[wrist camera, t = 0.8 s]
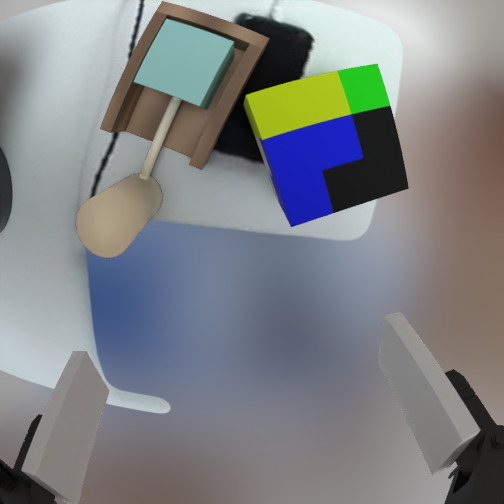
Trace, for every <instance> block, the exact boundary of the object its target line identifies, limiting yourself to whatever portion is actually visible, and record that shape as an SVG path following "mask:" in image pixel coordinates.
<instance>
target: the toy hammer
mask: <svg viewBox="0 0 504 504" xmlns="http://www.w3.org/2000/svg"><path fill="white" fill-rule="evenodd" d="M234 58H235V54H234V41H231V40H228V39H226V38H223V37H221V36H218V35H215V34H213V33H210V32H207V31H204V30H201V29H198V28H195V27H192V26H189V25H186V24H183V23H179V22H176V21H173V20H169V19H166V20H165V22H164V24H163V26H162V27H161V29H160V31H159V33H158V34H157V36H156V38H155V40H154V42H153V43H152V45H151V47H150V49H149V51H148V53H147V55H146V57H145V59H144V61H143V63H142V65H141V67H140V69H139V71H138V73H137V75H136V77H135V79H134V81H133V82H135V83H138V84H141V85H144V86H146V87H149V88H152V89H154V90H157V91H160V92H163V93H165V94H168V95H171V96H173V97H172V99H171V101H170V103H169V105H168V107H167V109H166V112H165V114H164V116H163V118H162V121H161V123H160V125H159V127H158V130H157V132H156V134H155V137H154V139H153V142H152V144H151V146H150V149H149V151H148V154H147V156H146V159H145V162H144V164H143V167H142V169H141V172H140V173H138V174H133V175H131V176H129V177H127V178H125V179H123V180H121V181H120V182H118V183H116V184H114V185H113V186H111V187H109V188H107V189H106V190H104V191H102V192H100V193H99V194H97V195H95V196H94V197H92V198H90V199H89V200H87V201H86V202H85V203H83V205H82V206H81V207H80V209H79V211H78V214H77V218H76V228H77V233H78V236H79V238H80V240H81V242H82V243H83V245H84V246H85V247H86V248H87V249H88V250H89V251H91V252H92V253H93V254H95V255H98V256H100V257H106V258H110V257H115V256H118V255H120V254H121V253H123V252H124V251H125V250H126V249H127V247H128V246H129V245H130V244H131V242H132V241H133V240H134V239H135V237H136V236H137V235H138V234H139V233H140V231H141V230H142V229H143V228H144V227H145V225H146V224H147V223H148V222H149V221H150V219H151V218H152V217H153V216H154V215H155V213H156V212H157V211H158V210H159V208H160V206H161V203H162V191H161V188H160V186H159V184H158V183H157V181H156V180H155V179H154V178H152V177H151V176H150V173H151V171H152V168H153V166H154V163H155V161H156V158H157V156H158V153H159V151H160V148H161V146H162V144H163V141H164V139H165V137H166V134H167V132H168V130H169V128H170V125H171V123H172V121H173V119H174V116H175V114H176V112H177V110H178V108H179V106H180V104H181V101H182V100H184V101H186V102H189V103H191V104H194V105H196V106H199V107H201V108H204V109H206V110H207V109H208V107H209V105H210V103H211V101H212V99H213V97H214V95H215V93H216V91H217V89H218V87H219V85H220V84H221V82H222V80H223V78H224V76H225V74H226V72H227V70H228V69H229V67H230V65H231V63H232V61H233V59H234Z"/></svg>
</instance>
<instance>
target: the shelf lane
mask: <svg viewBox="0 0 504 504" xmlns="http://www.w3.org/2000/svg"><path fill="white" fill-rule="evenodd" d="M166 19H169V20H173V21H176V22H179V23H183V24H186V25H189V26H192V27H195V28H198V29H201V30H204V31H207V32H210V33H213V34H215V35H218V36H221V37H223V38H226V39H228V40H231V41H234V54H235V58H234V59H233V61H232V63H231V65H230V67H229V69H228V70H227V72H226V74H225V76H224V78H223V80H222V82H221V84H220V85H219V87H218V89H217V91H216V93H215V95H214V97H213V99H212V101H211V103H210V105H209V107H208V109H207V110H206V109H204V108H201V107H199V106H196V105H194V104H191V103H189V102H186V101H184V100H182V101H181V104H180V106H179V108H178V110H177V112H176V114H175V116H174V119H173V121H172V123H171V125H170V128H169V130H168V132H167V134H166V137H165V139H164V141H163V144H162V146H165V147H167V148H170V149H172V150H174V151H177V152H179V153H182V154H184V155H186V156H189V157H191V158H192V159H191V161H190V163H189V165H191V166H194V167H196V168H198V169H201V170H202V169H203V167H204V166H205V165H206V164H207V162H208V159H209V157H210V155H211V153H212V151H213V149H214V147H215V145H216V142H217V140H218V138H219V136H220V134H221V132H222V130H223V128H224V126H225V124H226V122H227V120H228V118H229V116H230V114H231V112H232V110H233V108H234V106H235V104H236V102H237V100H238V98H239V96H240V94H241V93H242V91H243V89H244V87H245V85H246V83H247V81H248V79H249V78H250V76H251V74H252V72H253V70H254V68H255V67H256V65H257V63H258V61H259V59H260V58H261V56H262V54H263V52H264V50H265V48H266V45H267V43H268V40H269V38H267V37H265V36H263V35H261V34H258V33H256V32H254V31H251V30H249V29H246V28H244V27H241V26H239V25H236V24H234V23H231V22H228V21H226V20H223V19H220V18H217V17H214V16H211V15H208V14H205V13H202V12H199V11H196V10H193V9H189V8H186V7H183V6H179V5H175V4H172V3H168V2H164V1H162V2H161V4H160V6H159V7H158V9H157V10H156V12H155V14H154V15H153V17H152V19H151V21H150V22H149V24H148V26H147V27H146V29H145V31H144V33H143V35H142V36H141V38H140V40H139V42H138V44H137V46H136V48H135V50H134V52H133V54H132V56H131V58H130V60H129V62H128V64H127V66H126V68H125V70H124V72H123V74H122V76H121V79H120V81H119V83H118V85H117V87H116V90H115V92H114V94H113V97H112V99H111V102H110V104H109V106H108V109H107V112H106V114H105V117H104V119H103V122H102V125H101V127H100V129H102V130H105V131H107V132H110V133H113V132H121V131H127V132H130V133H132V134H135V135H137V136H140V137H142V138H145V139H147V140H150V141H152V142H153V139H154V137H155V134H156V132H157V130H158V127H159V125H160V123H161V121H162V118H163V116H164V114H165V112H166V109H167V107H168V105H169V103H170V101H171V99H172V97H173V96H171V95H168V94H165V93H163V92H160V91H157V90H154V89H152V88H149V87H146V86H144V85H141V84H138V83H135V82H133V81H134V79H135V77H136V75H137V73H138V71H139V69H140V67H141V65H142V63H143V61H144V59H145V57H146V55H147V53H148V51H149V49H150V47H151V45H152V43H153V42H154V40H155V38H156V36H157V34H158V33H159V31H160V29H161V27H162V26H163V24H164V22H165V20H166Z"/></svg>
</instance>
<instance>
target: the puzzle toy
mask: <svg viewBox="0 0 504 504" xmlns="http://www.w3.org/2000/svg"><path fill="white" fill-rule="evenodd" d="M243 105H244V108H245V111H246V113H247V116H248V119H249V122H250V124H251V127H252V130H253V133H254V135H255V138H256V141H257V144H258V147H259V150H260V152H261V155H262V158H263V161H264V164H265V167H266V170H267V172H268V175H269V178H270V181H271V184H272V187H273V190H274V193H275V196H276V198H277V200H278V202H279V204H280V206H281V208H282V210H283V212H284V213H285V215H286V217H287V219H288V221H289V223H290V225H291V227H293V226H296V225H299V224H302V223H305V222H308V221H311V220H314V219H317V218H320V217H323V216H326V215H329V214H332V213H335V212H338V211H341V210H344V209H347V208H350V207H353V206H356V205H359V204H363V203H366V202H369V201H372V200H375V199H378V198H381V197H384V196H387V195H390V194H393V193H396V192H399V191H402V190H405V189H408V182H407V176H406V171H405V166H404V161H403V156H402V151H401V146H400V142H399V138H398V134H397V129H396V125H395V121H394V117H393V114H392V110H391V106H390V103H389V99H388V96H387V92H386V89H385V86H384V83H383V79H382V76H381V73H380V70H379V67H378V64H373V65H366V66H360V67H355V68H349V69H344V70H339V71H334V72H330V73H325V74H320V75H316V76H312V77H308V78H304V79H300V80H296V81H292V82H288V83H285V84H281V85H277V86H274V87H271V88H267V89H264V90H261V91H257V92H254V93H251V94H248V95H246V97H245V100H244V104H243Z"/></svg>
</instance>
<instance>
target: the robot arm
mask: <svg viewBox="0 0 504 504" xmlns="http://www.w3.org/2000/svg"><path fill="white" fill-rule="evenodd" d="M11 198H12V191H11V180H10V174H9V169H8V166H7V162H6V160H5V157H4V155H3V153H2V151H1V149H0V232H1V231H2V230H3V228H4V227H5V225H6V223H7V220H8V217H9V213H10V208H11ZM377 361H378V363H379V365H380V367H381V369H382V371H383V373H384V375H385V377H386V379H387V381H388V382H389V385H390V387H391V389H392V391H393V392H394V394H395V397H396V398H397V401H398V403H399V405H400V407H401V409H402V411H403V413H404V415H405V417H406V419H407V421H408V423H409V425H410V427H411V429H412V432H413V433H414V435H415V437H416V440H417V442H418V444H419V446H420V449H421V451H422V453H423V455H424V458H425V460H426V462H427V464H428V466H429V469H430V471H431V473H432V475H434V474H437V473H439V472H441V471H443V470H445V469H447V468H449V467H450V466H451V465H452V464H453V463H454V462H455V461H456V463H457V465H458V466H457V467H456V468H455V469H454V470H453V471H452V472H451V473H450V475H449V477H448V478H451V477H452V476H453V475H454V477H453V480H452V484H451V486H450V490H449V492H448V495H447V498H446V501H445V503H444V504H504V426H502V425H497V424H496V423H495V422H494V421H493V419H492V418H491V417H490V415H489V413H488V412H487V410H486V408H485V407H484V405H483V404H482V402H481V401H480V399H479V398H478V396H477V395H475V392H474V390H473V389H472V388H470V385H469V383H468V382H467V381H466V379H465V378H464V376H462V375H461V374H460V373H458V372H457V371H455V370H454V369H453V370H451V371H448V372H446V373H444V372H443V370H442V369H441V367H440V366H439V365H438V363H437V362H436V360H435V359H434V357H433V356H432V354H431V353H430V352H429V350H428V349H427V347H426V346H425V345H424V343H423V342H422V341H421V339H420V338H419V336H418V335H417V333H416V332H415V331H414V329H413V328H412V327H411V325H410V324H409V323H408V321H407V320H406V319H405V317H404V316H403V315H402V313H401V312H398V313H394V314H389V315H386V316H385V320H384V326H383V332H382V337H381V343H380V348H379V353H378V358H377ZM108 394H109V389H108V388H107V386H106V384H105V383H104V381H103V380H102V378H101V376H100V374H99V373H98V371H97V369H96V368H95V366H94V364H93V362H92V361H91V359H90V357H89V355H88V353H87V352H86V351H73V353H72V355H71V357H70V359H69V361H68V363H67V365H66V367H65V369H64V371H63V373H62V375H61V377H60V379H59V381H58V383H57V385H56V387H55V389H54V391H53V394H52V396H51V398H50V400H49V402H48V405H47V407H46V409H45V411H44V414H43V415H38V416H37V417H36V418H35V419H34V421H33V422H32V423H31V426H30V428H29V430H28V434H27V435H26V437H25V442H23V445H22V447H21V450H20V452H19V455H18V457H17V460H16V463H15V466H14V468H13V469H11V468H10V467H9V466H8V465H7V464H5V463H4V462H3V461H2V460H0V504H57V503H56V502H55V501H54V499H55V496H56V497H57V498H59V499H60V500H62V501H63V502H67V503H70V504H79V499H80V495H81V490H82V486H83V482H84V478H85V474H86V470H87V466H88V462H89V458H90V454H91V451H92V447H93V443H94V440H95V436H96V433H97V430H98V426H99V423H100V419H101V416H102V413H103V410H104V407H105V404H106V400H107V397H108Z"/></svg>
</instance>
